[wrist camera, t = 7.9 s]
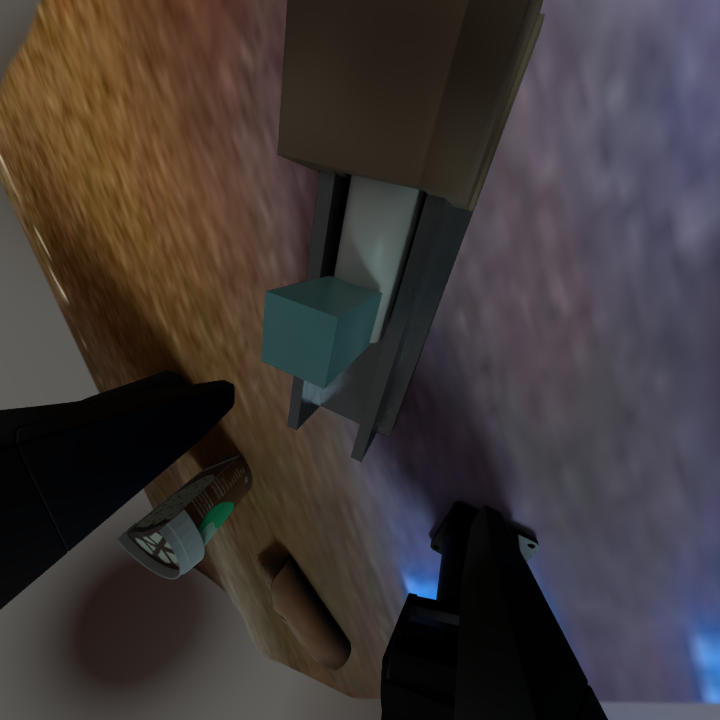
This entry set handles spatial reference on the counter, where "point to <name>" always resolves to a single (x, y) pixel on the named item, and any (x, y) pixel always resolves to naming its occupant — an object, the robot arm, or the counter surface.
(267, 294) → the teal angled piece
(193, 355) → the counter surface
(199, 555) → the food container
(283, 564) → the sunglasses case
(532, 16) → the socket block
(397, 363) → the sleeve channel
